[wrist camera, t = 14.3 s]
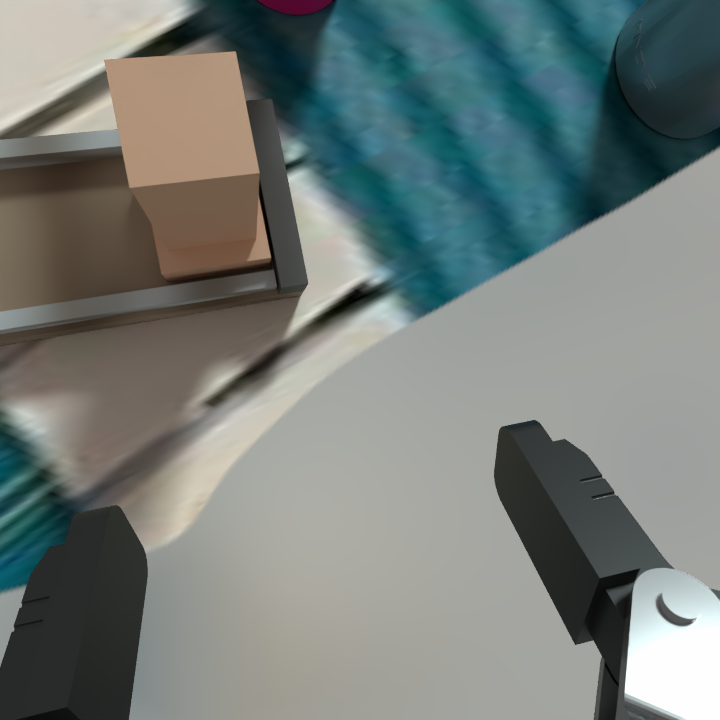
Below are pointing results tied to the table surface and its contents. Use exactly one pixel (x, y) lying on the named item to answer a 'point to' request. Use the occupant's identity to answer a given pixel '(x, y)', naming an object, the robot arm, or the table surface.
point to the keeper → (191, 161)
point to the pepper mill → (296, 6)
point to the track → (118, 239)
